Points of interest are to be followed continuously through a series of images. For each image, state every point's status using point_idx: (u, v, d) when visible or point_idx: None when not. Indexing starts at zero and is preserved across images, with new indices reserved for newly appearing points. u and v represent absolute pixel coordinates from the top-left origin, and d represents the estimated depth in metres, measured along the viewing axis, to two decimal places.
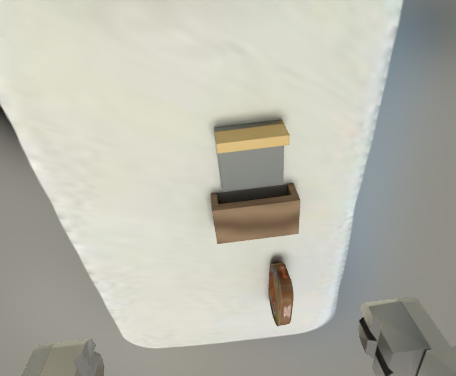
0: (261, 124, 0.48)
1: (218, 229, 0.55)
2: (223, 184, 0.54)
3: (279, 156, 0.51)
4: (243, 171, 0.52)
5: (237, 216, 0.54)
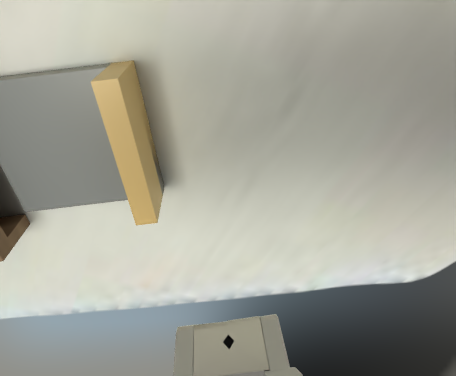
0: (154, 156, 0.25)
1: None
2: None
3: (91, 197, 0.26)
4: (37, 132, 0.23)
5: None
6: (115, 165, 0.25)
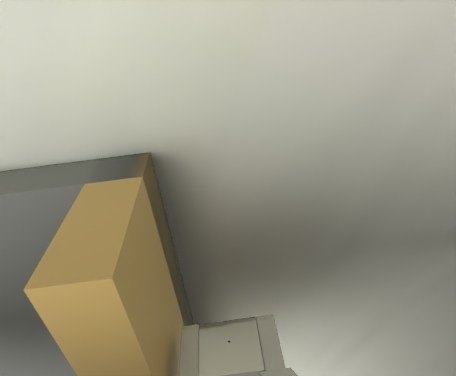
0: (188, 323, 0.13)
1: None
2: None
3: None
4: None
5: None
6: None
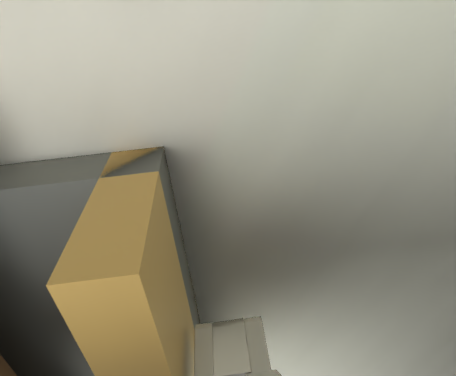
0: (196, 322, 0.13)
1: None
2: None
3: None
4: None
5: None
6: None
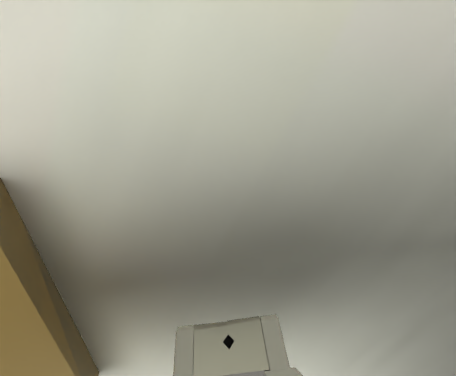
0: (70, 343, 0.13)
1: None
2: None
3: None
4: None
5: None
6: None
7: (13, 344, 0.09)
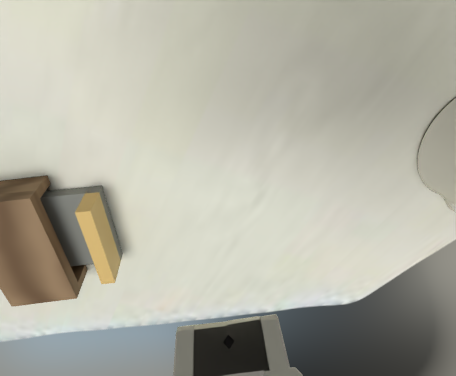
0: (115, 237, 0.40)
1: None
2: None
3: (73, 261, 0.40)
4: None
5: (26, 232, 0.34)
6: None
7: (105, 228, 0.36)
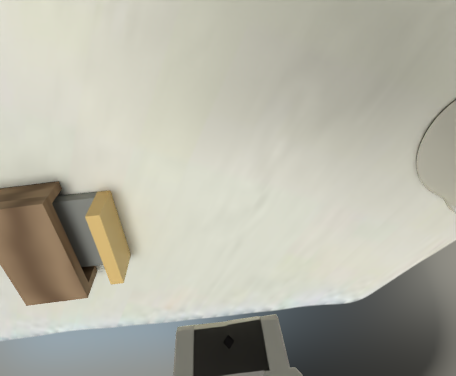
0: (123, 239, 0.41)
1: (3, 213, 0.34)
2: None
3: (84, 263, 0.42)
4: None
5: (40, 236, 0.35)
6: None
7: (114, 231, 0.38)
